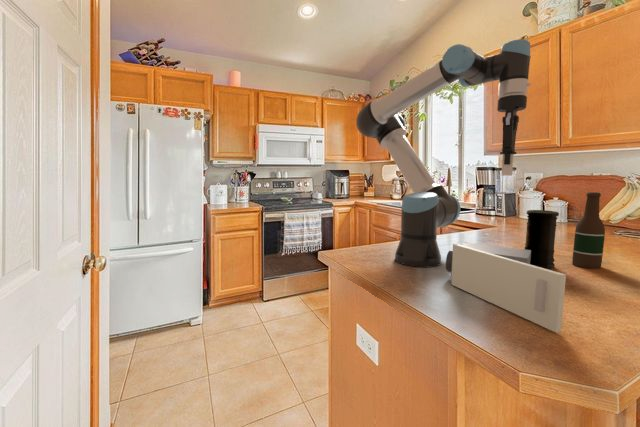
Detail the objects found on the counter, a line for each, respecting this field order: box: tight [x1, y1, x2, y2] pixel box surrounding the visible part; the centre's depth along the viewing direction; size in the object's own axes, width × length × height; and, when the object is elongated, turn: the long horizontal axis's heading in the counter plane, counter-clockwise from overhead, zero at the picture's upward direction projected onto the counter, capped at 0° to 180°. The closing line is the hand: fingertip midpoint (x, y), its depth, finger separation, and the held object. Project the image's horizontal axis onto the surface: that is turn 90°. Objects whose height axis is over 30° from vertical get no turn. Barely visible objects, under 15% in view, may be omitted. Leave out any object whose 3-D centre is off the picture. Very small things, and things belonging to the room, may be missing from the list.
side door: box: [450, 243, 567, 333], centre depth 70 cm, size 28×2×11 cm, turn 19°
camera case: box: [445, 242, 531, 273], centre depth 83 cm, size 19×10×10 cm, turn 52°
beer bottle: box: [571, 191, 606, 270], centre depth 100 cm, size 8×8×24 cm
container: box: [523, 209, 560, 270], centre depth 101 cm, size 9×9×18 cm
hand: (506, 175), depth 96 cm, fingers closed
